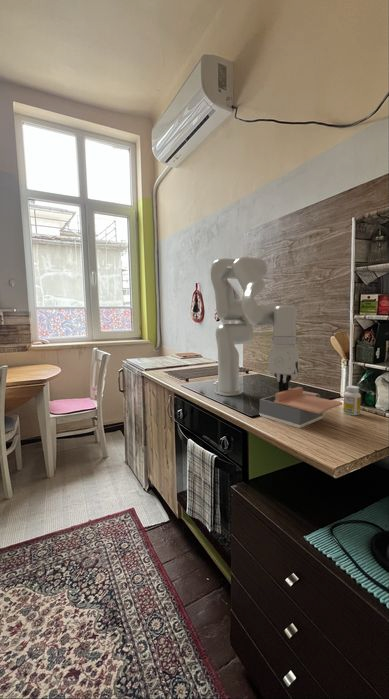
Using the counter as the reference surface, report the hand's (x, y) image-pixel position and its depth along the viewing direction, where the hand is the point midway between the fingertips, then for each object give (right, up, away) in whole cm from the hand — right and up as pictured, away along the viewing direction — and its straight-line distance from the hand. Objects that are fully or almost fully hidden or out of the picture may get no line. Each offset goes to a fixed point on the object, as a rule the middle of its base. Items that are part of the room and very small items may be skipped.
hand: (283, 392), depth 110 cm
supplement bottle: (+25, -8, +2) cm, 26 cm away
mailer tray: (+2, -8, -1) cm, 9 cm away
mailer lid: (+6, -3, -7) cm, 10 cm away
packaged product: (+12, -7, +18) cm, 23 cm away
